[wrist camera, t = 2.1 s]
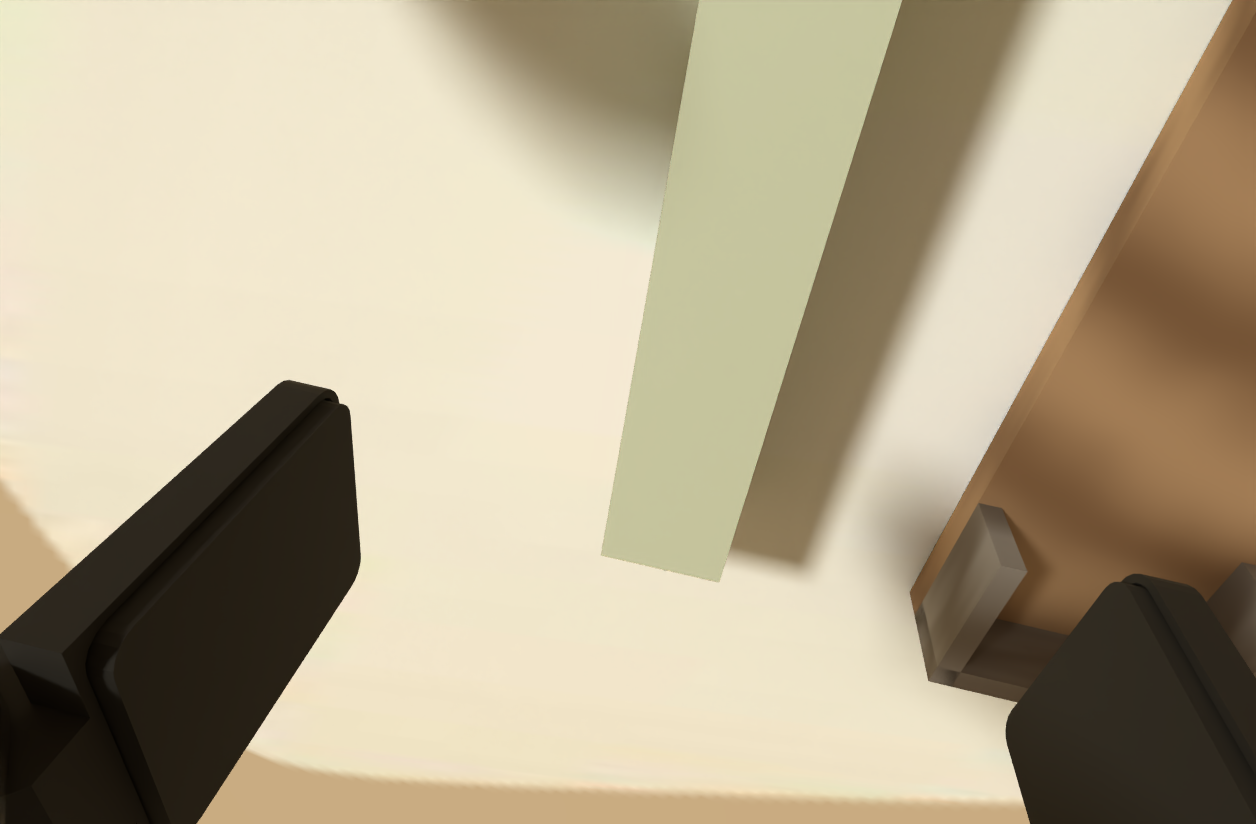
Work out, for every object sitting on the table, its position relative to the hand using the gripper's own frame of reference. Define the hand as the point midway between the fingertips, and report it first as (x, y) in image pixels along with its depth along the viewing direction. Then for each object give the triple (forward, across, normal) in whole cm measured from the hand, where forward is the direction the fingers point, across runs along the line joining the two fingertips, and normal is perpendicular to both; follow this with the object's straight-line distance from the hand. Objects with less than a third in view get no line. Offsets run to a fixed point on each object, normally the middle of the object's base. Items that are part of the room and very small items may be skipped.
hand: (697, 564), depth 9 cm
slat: (+16, 0, 0) cm, 16 cm away
